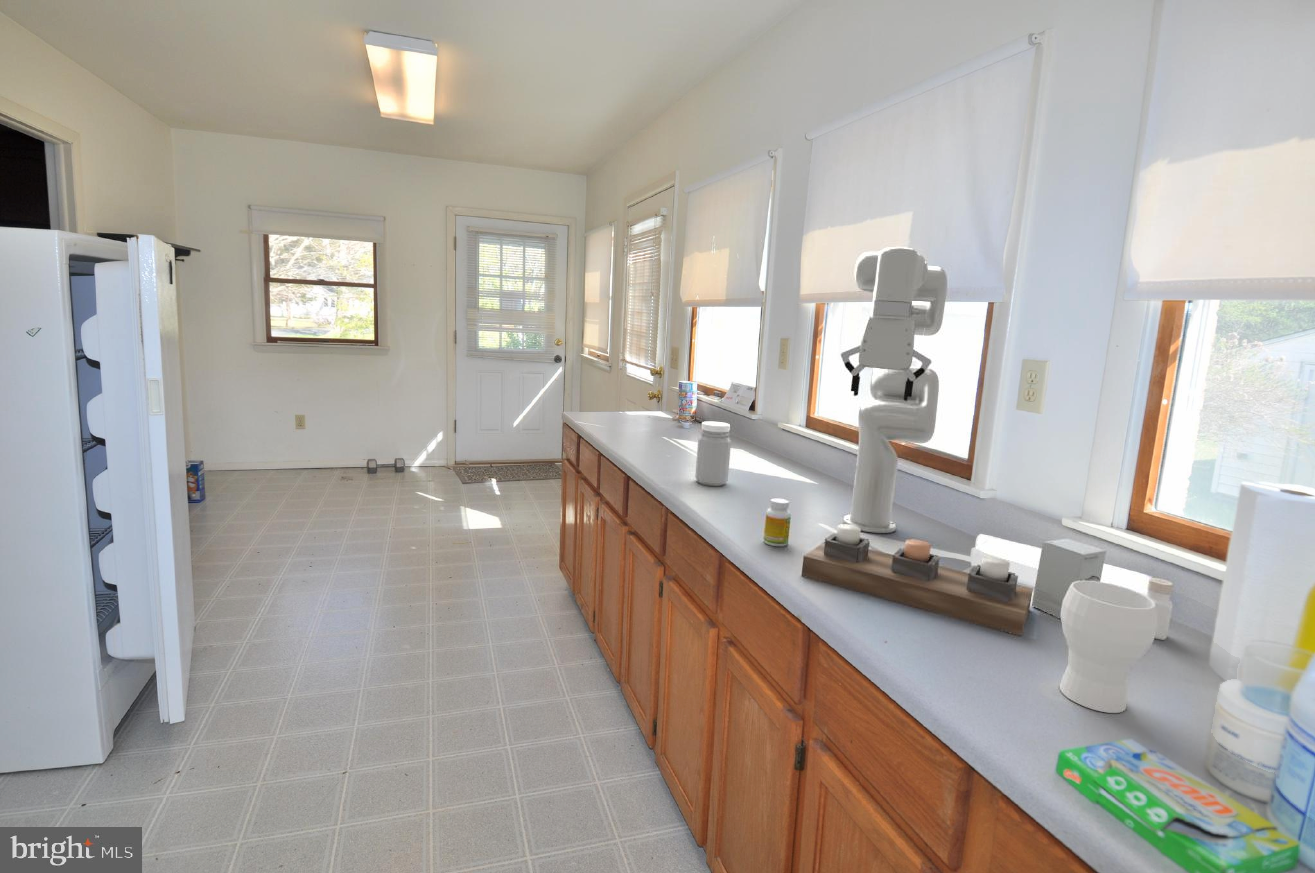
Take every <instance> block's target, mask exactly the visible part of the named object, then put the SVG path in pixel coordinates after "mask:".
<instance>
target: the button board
mask: <svg viewBox="0 0 1315 873" xmlns="http://www.w3.org/2000/svg"><path fill="white" fill-rule="evenodd" d="M836 534H837V532H833V533H832V534H829V536H827V537H826V538H824V541H823V542H822V543H821V544H819V545H817V547H815V548H813V549H811V551H808V552H807V553H806V554H804V555H803V557H802V558H803V559H802V569H801V575H800V576H801V577H805V576H806V578H808V577H809V579H812V578H813V580H815V579H816V580H815V581H819V580H821V581H820V582H823V583H826V582H828V583H827V584H831V585H834V586H837V585H838V586H837V587H841V588H845V589H848V590H853V591H856V592H860V593H863V594H866V595H871V596H874V597H878V598H881V599H885V600H887V601H888V600H889V601H891V602H895V603H900V604H902V605H906V606H910V607H914V608H916V609H917V608H918V609H921V610H925V611H928V612H931V613H935V614H938V615H941V616H946V617H949V616H950V617H951V618H954V619H957V620H960V619H962V620H961V621H964V622H967V621H969V623H972V624H975V623H976V625H979V626H982V625H983V627H985V628H989V627H991V628H990V629H993V628H996V629H998V630H997V631H1000V630H1003V631H1002V632H1004V631H1006V632H1005V633H1007V632H1011V633H1014V634H1013V635H1015V634H1018V635H1021V636H1020V637H1022V636H1023V633H1022V632H1024V629H1023V628H1025V626H1024V625H1026V622H1027V619H1026V618H1028V616H1027V615H1029V612H1028V611H1030V608H1031V604H1032V598H1033V596H1032V595H1033V592H1034V588H1033V587H1030V586H1029V587H1028V586H1024V585H1021V584H1018V578H1019V575H1017V574H1016V573H1014V572H1011V571H1009V572H1008V578H1007V581H1006V582H1003V581H999V580H995V579H991V578H987V577H983V576H980V575H979V573H980V567H981V564H977V565H972V568H971V569H970V571H969V572H965V571H962V570H958V569H953V568H951V567H946V566H941V565H940V560H941V558H940V556H939V555H938V554H934V553H933V554H932V553H930V556H929V562H927V563H924V562H920V561H916V560H912V559H908V558H904V550H905V547H903V548H899V549H898V550H897V551H896V552H894V554H892V553H891V554H890V553H887V552H883V551H880V550H874V549H871V548H870V543H871V541H870V540H869V539H868V538H865V537H861V536H860V540H859V545H857V546H854V545H849V544H845V543H841V542H837V541H836ZM996 629H995V630H996ZM1011 633H1010V634H1011ZM1018 635H1017V636H1018Z"/></svg>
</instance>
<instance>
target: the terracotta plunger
mask: <svg viewBox="0 0 1315 873" xmlns="http://www.w3.org/2000/svg"><path fill="white" fill-rule="evenodd" d="M931 547H932V545H931V543H929V542H926V541H924V540H920V539H913V538H911V539H906V540H905V543H904V548H905V550H904V558H908V559H912V560H916V561H920V562H924V563H927V562H929V556H930V554H931Z"/></svg>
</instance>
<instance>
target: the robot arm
mask: <svg viewBox="0 0 1315 873" xmlns="http://www.w3.org/2000/svg"><path fill="white" fill-rule="evenodd" d="M854 279H855V283H856V285H857V288H858V289H859V290H860V291H863V292H868V293H873V297H872V303H871V305H872V306H871V308H870V309H871V310H870V314H869V317H867V318H866V321H865V323H864V326H863V332H862V336H861V341H860V345H858V346H855V347H852V348H850V349H848V350H846V351H843V352H841V354H840V356H841V359H842V362H843V364H844V367H845V368H846V370H847V371H848V372H849V373H850V374H851V375H852V377H851V383H850V384H851V385H850V386H851V387H850V392H853V396H854V397H856V396H859V391H860V390H859V389H860V383H861V382H860V381H861V376H860V373H861V372H862V371H863V370H864V369H865V368H869V369H872V373H871V378H870V383H869V384H870V386H869V387H870V388H869V389H870V394H871V396H872V398H873V399H870V400H867V401H864V402H863V403H862V405H860V407H859V410H858V447H857V457H856V464H855V465H856V466H855V472H854V474H855V475H854V482H853V489H852V498H851V499H852V500H851V504H850V506H851V507H850V513H849V514H847V515H844V516H843V517H842V518H843V520H842V521H843V524H848V525H854V526H857V527H859V528H860V529H861V532H867V533H873V534H875V533H876V534H890V533H893V532H895V531H896V528H897V524H896V523H895V522H893V521H892V520H891V519H892V518H891V516H892V511H893V502H894V495H895V489H896V488H895V487H896V486H895V485H896V479H897V473H898V472H897V471H898V465H899V461H898V460H899V459H898V458H899V457H898V454H897V452H896V451H895V449H894V447H892V444H891V443H890V441H891V442H892V441H893V442H905V443H913V444H926V443H928V442H929V441H931V440H932V438H933V436H934V433H935V430H936V420H937V412H938V400H939V389H940V384H939V383H940V382H939V381H940V380H939V376H938V374H937V371H935V370H933V369H931V368H929V367H930V365H931V364H932V360H931V359H930V358H928V357H927V356H925V355H924V354H922V353H920V352H919V351H917V350H915V349H914V347H915V345H914V344H915V336H923V337H924V336H933V335H936V334H938V332H940V330H941V328H942V324H943V319H944V313H945V306H946V299H947V294H948V277H947V273H946V271H945V270H944V269H943V268H942V267H940V266H935V265H934V266H933V265H928V262H927V261H926V259H925V258H924V256H923V255H922V254H920V253H918V252H917V251H916V250H915V249H913V248H910V247H901V246H895V247H894V246H892V247H890V246H889V247H886V248H883V249H882V250H880V251H868V252H867V251H865V252H863V253H862V254H861V255H860V256H859V257H858V259H857V260H856V262H855V268H854ZM856 354H858V365H857V366H856V367H855V366H854V365H853V364H852V363H851V360H850V357H851V356H854V355H856ZM913 358H914V359H916V360H918V361H919V362H921V365H920V366H919V367H918V366H912V364H913Z"/></svg>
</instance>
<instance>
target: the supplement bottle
mask: <svg viewBox="0 0 1315 873" xmlns="http://www.w3.org/2000/svg"><path fill="white" fill-rule="evenodd" d="M769 505H770V506H769V508H767V510H766V512H765V521H764V532H763V543H764V544H766V545H769V546H773V547H785V546H787V545H788V543H789V536H790V528H791V519H792V518H791V517H792V514H791V512H790V510H788V509H789V505H790V501H789V500H787V499H784V498H778V497H777V498H771V499H770V502H769Z"/></svg>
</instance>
